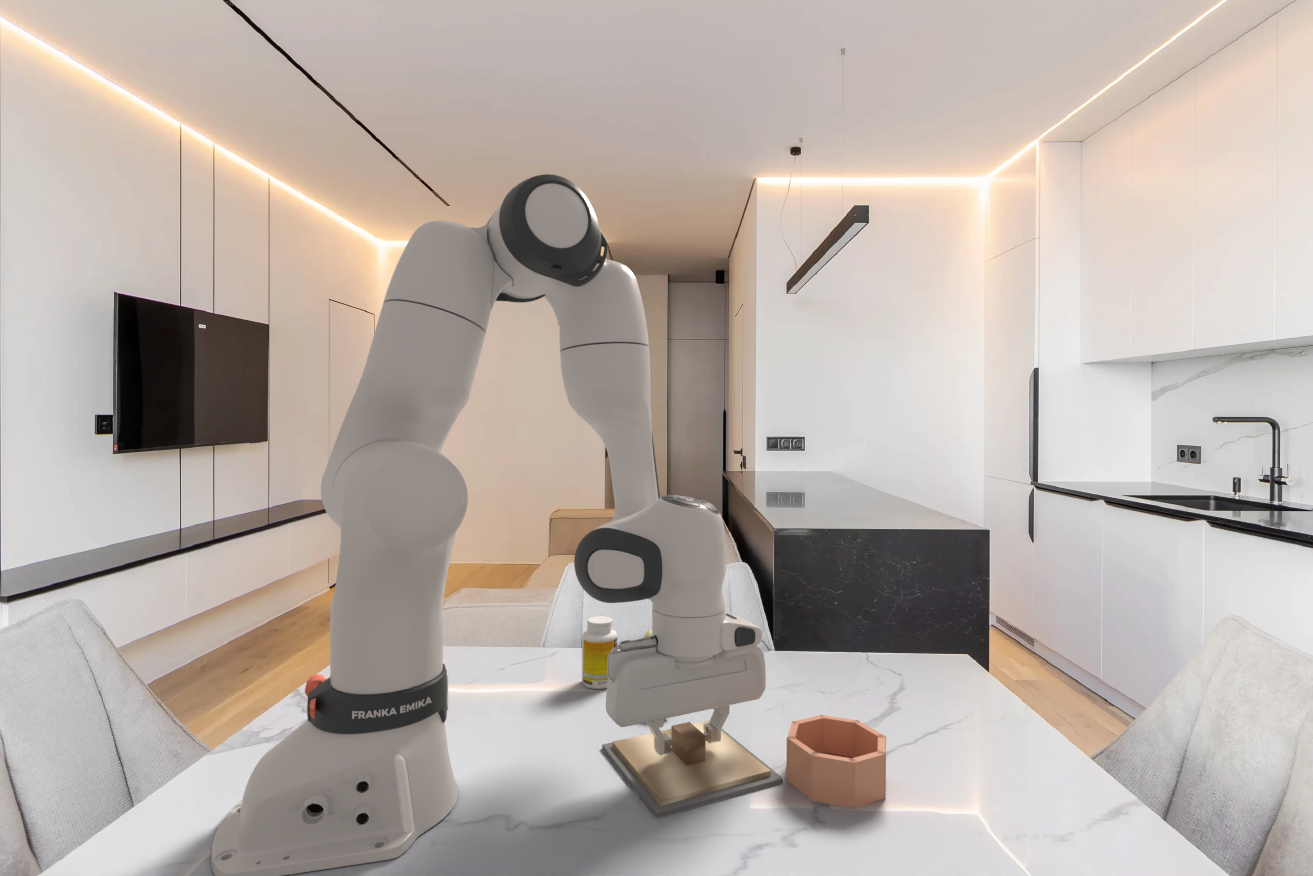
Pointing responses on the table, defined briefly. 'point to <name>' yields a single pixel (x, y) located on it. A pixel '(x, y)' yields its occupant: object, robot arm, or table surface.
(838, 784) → the bowl
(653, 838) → the table surface
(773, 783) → the mat
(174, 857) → the table surface
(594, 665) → the supplement bottle
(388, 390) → the robot arm
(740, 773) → the sheet
